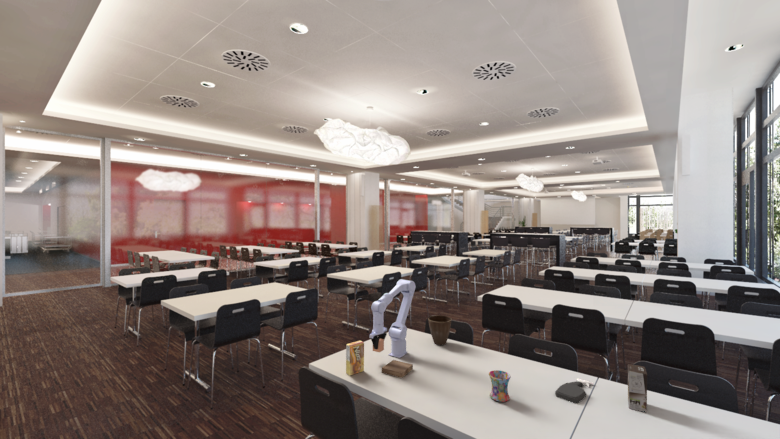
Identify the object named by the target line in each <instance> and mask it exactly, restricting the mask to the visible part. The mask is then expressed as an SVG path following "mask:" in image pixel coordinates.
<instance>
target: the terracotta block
mask: <svg viewBox="0 0 780 439" xmlns="http://www.w3.org/2000/svg"><path fill="white" fill-rule="evenodd" d="M384 350H385V339H381V338H380V339H379V343H378V349H374V346H373V345H372V352H376V353H381V352H383V351H384Z"/></svg>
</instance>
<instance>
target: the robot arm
mask: <svg viewBox="0 0 780 439" xmlns="http://www.w3.org/2000/svg"><path fill="white" fill-rule="evenodd" d="M416 288H417V287H416V283H415V281H413V280H408V279H404V278H400V279H398V281H397V282H396V285H395V286H394V287H393V288H392V289H391V290H390V291H389V292H385V293H383V295H382V296H380V298H379V299H378V300H375V301H373V302H372V304H371V307H370V308H371V309H370V311H372V315H373V317H372V319H373V320H372V323H373V326H372V330H371V333H369V339H370V340H371V343H372V347H373V346H374V349H378V343H379V339H380V338H381V339H384V340H385V339H386V337H387V335H388V336H389V337H390V341H391V344H390V345H391V349H390V350H391V352H390V353H388V356H390V357H395V358H399V359H400V358H402V357H403V356H405V355H407V354H408V351H407V340H406V338H407V332H408V331H407V330H408V328H407V326H406V322H407V317H408V315H409V311H410V308H411V305H412V304H411V303H412V301H413V298H414V294H415V290H416ZM400 293H401V294H402V295H403V298H402V301H401V303H400V304H401V305H400V307H399V310H398V313H397V317H396V320H395V322H393V323H391V326H390V328H389V329H388V327H385V326H384V324H385V323H384V321H385V320H384V315H385V314H384V312H385V311H386V308H388V306H389V305H390V304H391V303H392V302H393V300H394V299H393V298H394V297H396V296H397V295H398V294H400ZM387 331H388V333H387Z"/></svg>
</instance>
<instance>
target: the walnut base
mask: <svg viewBox="0 0 780 439" xmlns="http://www.w3.org/2000/svg"><path fill="white" fill-rule="evenodd" d="M412 370H414V364H412V363H407V362H404V361H399V360H396V359H393V360H391V361H389V362H387V364H385V365H384V366H382V367H381V373H382V374H385V375H389V376H393V377H396V378H400V379H402V378H404V377H405V376H406V375H408V374H409V373H410V372H411V371H412Z"/></svg>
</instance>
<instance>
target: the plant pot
mask: <svg viewBox="0 0 780 439" xmlns="http://www.w3.org/2000/svg"><path fill="white" fill-rule="evenodd" d="M427 321H428V326H429V331H430V335H431V338H432V341H433V343H434V344H435V345H436V346H445V345H446V344H447V342H448V338H449V336H450V332H451V328H452V327H451V326H452V317H449V316H447V315H432V316H431V315H430V316H429V317H428V318H427Z"/></svg>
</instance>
